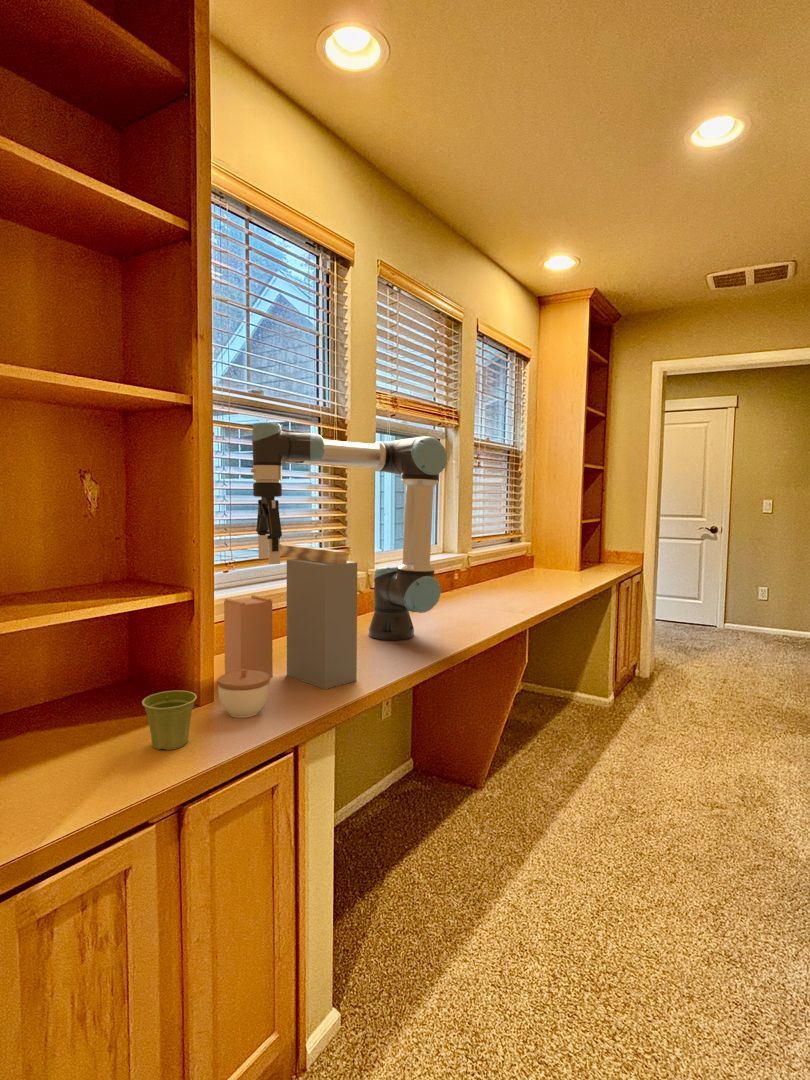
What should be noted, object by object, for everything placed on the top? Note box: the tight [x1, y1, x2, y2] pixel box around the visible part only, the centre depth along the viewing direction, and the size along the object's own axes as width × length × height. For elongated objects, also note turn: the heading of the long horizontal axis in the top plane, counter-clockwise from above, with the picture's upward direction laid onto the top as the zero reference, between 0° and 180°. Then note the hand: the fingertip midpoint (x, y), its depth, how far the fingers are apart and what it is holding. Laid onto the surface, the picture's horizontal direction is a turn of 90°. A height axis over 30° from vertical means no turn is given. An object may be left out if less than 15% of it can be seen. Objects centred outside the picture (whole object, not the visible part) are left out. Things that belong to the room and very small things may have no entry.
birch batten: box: [280, 543, 348, 564], centre depth 153 cm, size 26×3×3 cm, turn 45°
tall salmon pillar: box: [223, 594, 274, 678], centre depth 152 cm, size 8×9×20 cm
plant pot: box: [141, 689, 198, 751], centre depth 111 cm, size 9×9×9 cm
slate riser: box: [286, 558, 358, 690], centre depth 151 cm, size 16×10×30 cm, turn 45°
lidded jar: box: [217, 669, 271, 719], centre depth 127 cm, size 11×11×9 cm
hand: (268, 561), depth 161 cm, fingers open, 13 cm apart
